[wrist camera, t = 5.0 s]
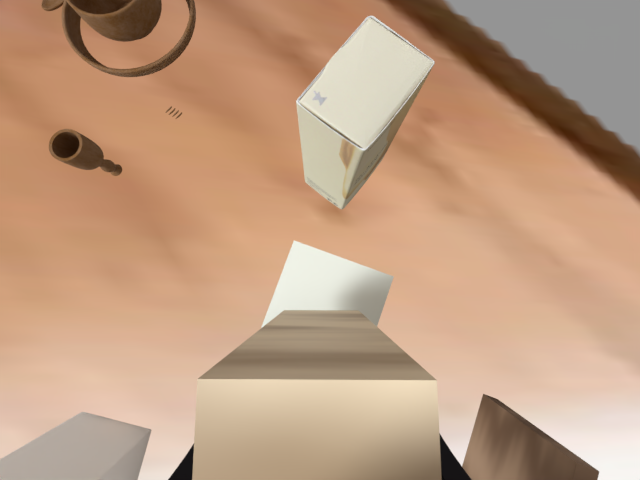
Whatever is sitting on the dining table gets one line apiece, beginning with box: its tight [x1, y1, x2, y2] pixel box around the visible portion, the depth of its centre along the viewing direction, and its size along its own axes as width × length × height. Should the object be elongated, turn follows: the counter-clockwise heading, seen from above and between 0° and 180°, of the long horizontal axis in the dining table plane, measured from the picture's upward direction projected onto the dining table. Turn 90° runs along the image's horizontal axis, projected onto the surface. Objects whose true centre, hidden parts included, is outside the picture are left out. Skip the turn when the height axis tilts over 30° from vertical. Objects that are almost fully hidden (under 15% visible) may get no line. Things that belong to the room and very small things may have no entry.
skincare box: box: [296, 16, 435, 209], centre depth 21 cm, size 6×4×12 cm
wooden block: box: [192, 310, 442, 480], centre depth 13 cm, size 5×5×14 cm
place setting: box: [41, 0, 196, 176], centre depth 25 cm, size 18×20×6 cm
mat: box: [261, 240, 394, 328], centre depth 25 cm, size 9×9×1 cm
